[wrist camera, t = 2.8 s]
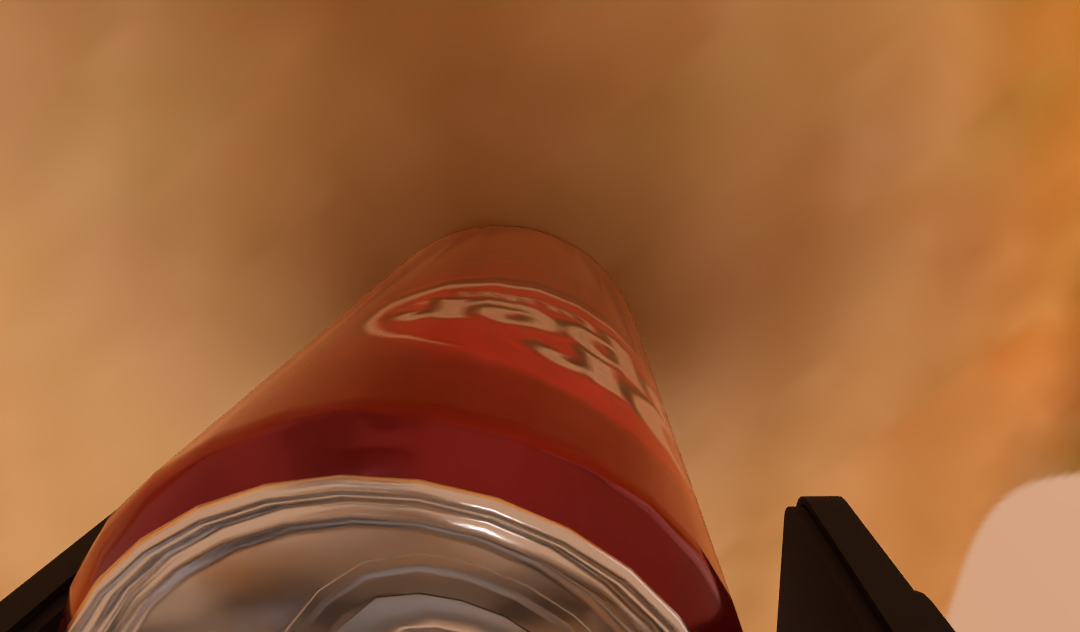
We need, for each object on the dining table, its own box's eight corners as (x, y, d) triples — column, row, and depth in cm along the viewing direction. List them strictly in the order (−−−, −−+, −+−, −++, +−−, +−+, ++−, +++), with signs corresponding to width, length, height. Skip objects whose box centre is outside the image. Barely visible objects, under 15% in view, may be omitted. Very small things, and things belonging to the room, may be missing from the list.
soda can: (530, 163, 16) (438, 258, 4) (688, 378, 17) (923, 861, 6) (322, 325, 17) (-148, 708, 6) (484, 510, 19) (359, 1101, 7)
